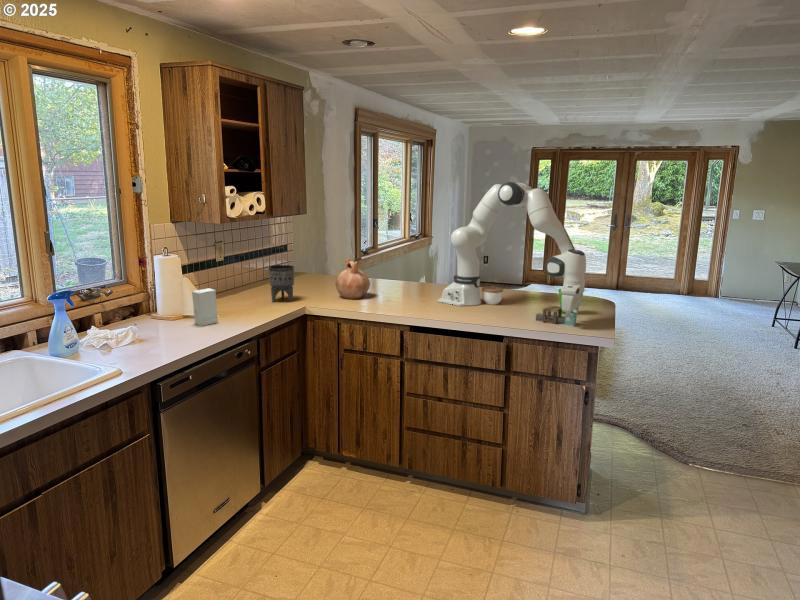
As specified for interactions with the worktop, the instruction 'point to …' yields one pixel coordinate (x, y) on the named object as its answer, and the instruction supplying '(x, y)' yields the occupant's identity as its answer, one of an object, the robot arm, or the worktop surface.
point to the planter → (281, 280)
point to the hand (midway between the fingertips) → (571, 318)
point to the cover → (549, 309)
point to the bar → (559, 318)
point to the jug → (352, 281)
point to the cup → (561, 300)
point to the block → (573, 320)
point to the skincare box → (205, 306)
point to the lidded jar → (492, 295)
